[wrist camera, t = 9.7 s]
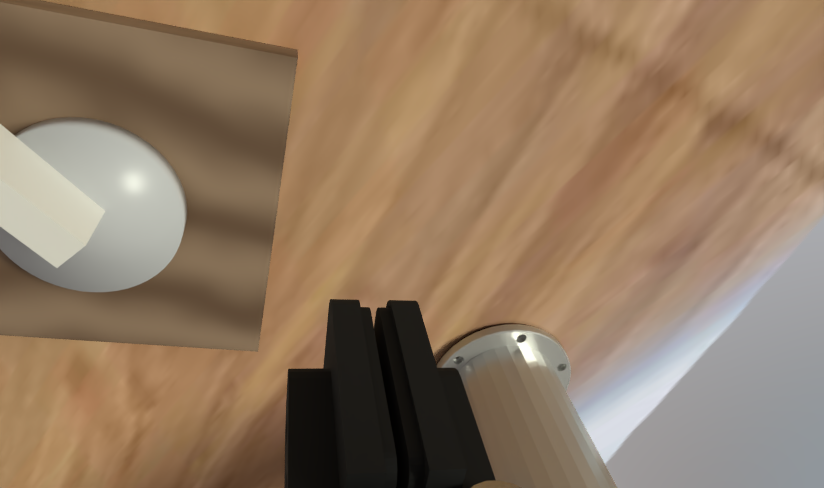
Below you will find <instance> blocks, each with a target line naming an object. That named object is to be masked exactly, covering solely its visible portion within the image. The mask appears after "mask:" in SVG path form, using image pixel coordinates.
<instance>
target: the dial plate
mask: <svg viewBox="0 0 824 488" xmlns="http://www.w3.org/2000/svg"><path fill="white" fill-rule="evenodd" d="M297 59H298V52H297V50H296V49H291V48H286V47H280V46H275V45H270V44H265V43H260V42H254V41H249V40H244V39H239V38H233V37H228V36H223V35H218V34H213V33H207V32H202V31H197V30H192V29H186V28H181V27H176V26H171V25H166V24H160V23H155V22H150V21H145V20H140V19H134V18H129V17H124V16H119V15H113V14H108V13H103V12H98V11H93V10H87V9H82V8H77V7H72V6H66V5H61V4H56V3H51V2H46V1H40V0H0V124H1V125H2V126H4V127H5V128H6V129H7V130H8V131H10V132H11V133H12V134H13V135H16V134H17V133H19V132H20V131H21V130H23V129H25V128H27V127H29V126H31V125H33V124H36V123H39V122H42V121H45V120H50V119H55V118H65V117H80V118H90V119H96V120H101V121H104V122H108V123H112V124H114V125H117V126H119V127H122V128H124V129H126V130H128V131H130V132H132V133H134V134H136V135H138V136H139V137H141V138H142V139H144V140H145V141H147V142H148V143H149V144H151V145H152V146H153V147H154V148H155V149H157V150H158V151H159V152H160V153H161V154H162V155H163V156H164V157H165V158H166V160H167V161H168V162H169V163H170V165H171V166H172V168H173V169H174V170H175V172H176V174H177V176H178V177H179V179H180V181H181V184H182V187H183V189H184V192H185V197H186V201H187V221H186V225H185V230H184V233H183V236H182V239H181V243H180V245H179V247H178V250H177V252H176V254H175V255H174V257H173V258H172V260H171V261H170V262H169V264H168V265H167V266H166V267H165V268H164V269H163V270H162V271H161V272H159V273H158V274H157V275H156V276H154V277H153V278H151V279H149V280H148V281H146V282H144V283H141V284H139V285H137V286H134V287H131V288H128V289H123V290H119V291H111V292H84V291H77V290H72V289H67V288H63V287H60V286H56V285H54V284H51V283H49V282H46V281H43V280H41V279H39V278H37V277H36V276H34V275H32V274H30V273H28V272H27V271H25V270H24V269H22V268H21V267H19V266H18V265H17V264H16V263H14V262H13V261H12V260H11V259H10V258H9V257H7V256H6V255H5V254H4V253H3V252H2V251H1V249H0V335H8V336H23V337H39V338H55V339H70V340H86V341H101V342H117V343H132V344H148V345H163V346H179V347H194V348H210V349H226V350H241V351H257V352H258V347H259V340H260V332H261V325H262V318H263V310H264V303H265V295H266V288H267V281H268V273H269V266H270V258H271V251H272V244H273V236H274V229H275V222H276V214H277V207H278V199H279V192H280V185H281V177H282V170H283V162H284V155H285V148H286V140H287V133H288V125H289V118H290V111H291V103H292V96H293V89H294V81H295V74H296V66H297Z"/></svg>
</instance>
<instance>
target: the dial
mask: <svg viewBox="0 0 824 488" xmlns="http://www.w3.org/2000/svg"><path fill="white" fill-rule="evenodd" d="M186 221H187V201H186V197H185V192H184V189H183V187H182V184H181V181H180V179H179V177H178V176H177V174H176V172H175V170H174V169H173V168H172V166H171V165H170V163H169V162H168V161H167V160H166V158H165V157H164V156H163V155H162V154H161V153H160V152H159V151H158V150H157V149H155V148H154V147H153V146H152V145H151V144H149V143H148V142H147V141H145V140H144V139H142V138H141V137H139V136H138V135H136V134H134V133H132V132H130V131H128V130H126V129H124V128H122V127H119V126H117V125H114V124H112V123H108V122H104V121H101V120H96V119H90V118H80V117H65V118H55V119H50V120H45V121H42V122H39V123H36V124H33V125H31V126H29V127H27V128H25V129H23V130H21V131H20V132H19V133H17V134H16V135H13V134H12V133H11V132H10V131H8V130H7V129H6V128H5V127H4V126H2V125H1V124H0V249H1V251H2V252H3V253H4V254H5V255H6V256H7V257H9V258H10V259H11V260H12V261H13V262H14V263H16V264H17V265H18V266H19V267H21V268H22V269H24V270H25V271H27V272H28V273H30V274H32V275H34V276H36V277H37V278H39V279H41V280H43V281H46V282H49V283H51V284H54V285H56V286H60V287H63V288H67V289H72V290H77V291H84V292H111V291H119V290H123V289H128V288H131V287H134V286H137V285H139V284H141V283H144V282H146V281H148V280H149V279H151V278H153V277H154V276H156V275H157V274H158V273H159V272H161V271H162V270H163V269H164V268H165V267H166V266H167V265H168V264H169V262H170V261H171V260H172V258H173V257H174V255H175V254H176V252H177V250H178V247H179V245H180V243H181V239H182V236H183V233H184V230H185V225H186Z"/></svg>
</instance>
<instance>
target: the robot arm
mask: <svg viewBox="0 0 824 488" xmlns="http://www.w3.org/2000/svg"><path fill="white" fill-rule="evenodd" d="M570 374H571V368H570V362H569V359H568V357H567V354H566V352H565V351H564V349H563V347H562V346H561V344H560V343H559V341H557V340H556V339H555V338H554V337H553V336H552V335H551V334H549V333H547V332H546V331H544V330H542V329H539V328H536V327H533V326H529V325H521V324H507V325H499V326H494V327H489V328H486V329H484V330H481V331H478V332H475V333H473V334H472V335H470V336H468V337H466V338H464V339H462V340H461V341H460V342H458V343H457V344H455V345H454V346H453V347H452V348H451V349H450V350H449V351H448V352H447V353H446V354H445V355H444V356H443V357H442V358H441V360H440V361H439V362H438V364H437V365H436V362H435V359H434V356H433V352H432V349H431V345H430V342H429V339H428V335H427V332H426V328H425V325H424V322H423V318H422V315H421V312H420V308H419V305H418V303H417V301H396V300H389V301H388V302H387V306H386V308H377V311H376V317H375V325H374V327H373V321H372V316H371V310H370V308H368V307H360V302H359V300H337V299H331V300H330V303H329V312H328V323H327V335H326V346H325V357H324V368H323V369H288V381H287V401H286V429H285V488H617V486H616V484H615V482H614V481H613V479H612V477H611V475H610V473H609V471H608V469H607V468H606V466H605V464H604V462H603V460H602V458H601V456H600V454H599V452H598V451H597V449H596V447H595V445H594V443H593V441H592V439H591V437H590V436H589V434H588V432H587V430H586V428H585V426H584V424H583V422H582V421H581V419H580V417H579V415H578V413H577V411H576V409H575V407H574V406H573V404H572V402H571V400H570V398H569V396H568V394H567V392H566V390H567V387H568V384H569V381H570Z"/></svg>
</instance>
